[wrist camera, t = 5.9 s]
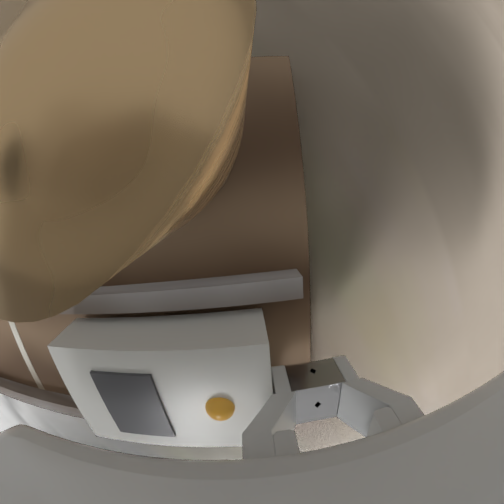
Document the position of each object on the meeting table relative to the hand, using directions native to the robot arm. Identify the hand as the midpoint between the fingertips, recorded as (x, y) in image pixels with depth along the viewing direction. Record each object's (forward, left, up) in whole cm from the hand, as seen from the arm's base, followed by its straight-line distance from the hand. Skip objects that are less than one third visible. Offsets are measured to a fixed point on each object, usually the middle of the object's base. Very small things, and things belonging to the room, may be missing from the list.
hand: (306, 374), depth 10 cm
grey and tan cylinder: (+8, +3, -2) cm, 9 cm away
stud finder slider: (0, +6, -1) cm, 6 cm away
